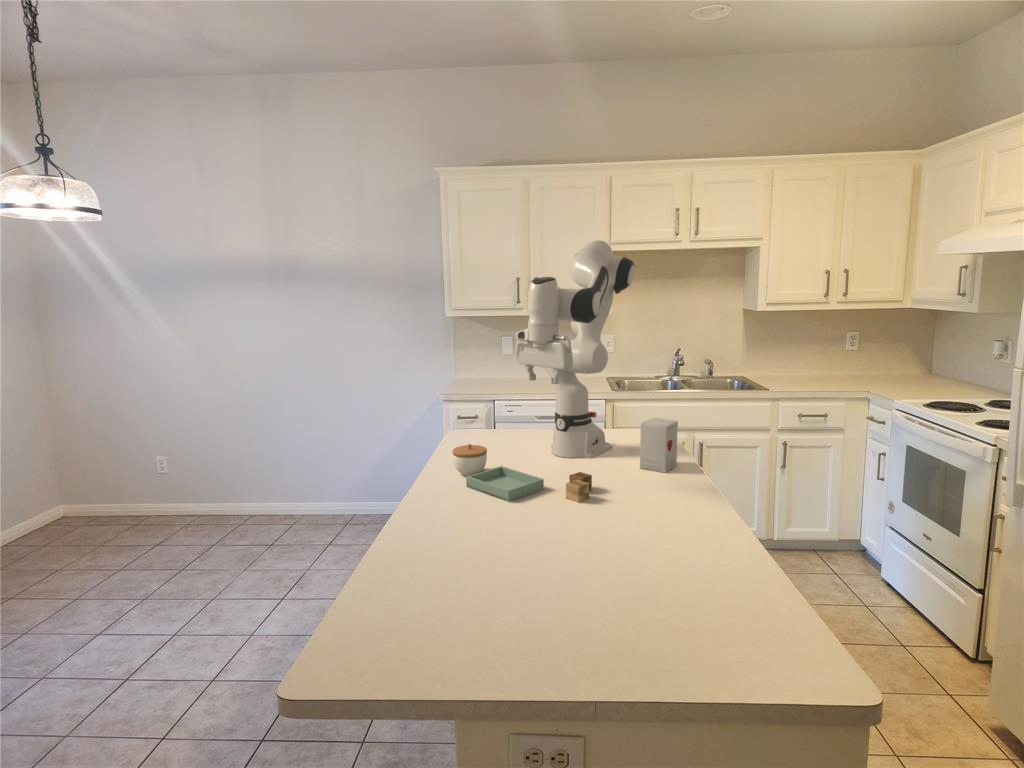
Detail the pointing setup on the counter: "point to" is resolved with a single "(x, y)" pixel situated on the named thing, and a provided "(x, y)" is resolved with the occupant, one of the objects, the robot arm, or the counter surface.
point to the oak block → (577, 491)
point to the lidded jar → (469, 459)
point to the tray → (505, 483)
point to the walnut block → (582, 478)
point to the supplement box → (658, 444)
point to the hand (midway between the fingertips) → (543, 381)
